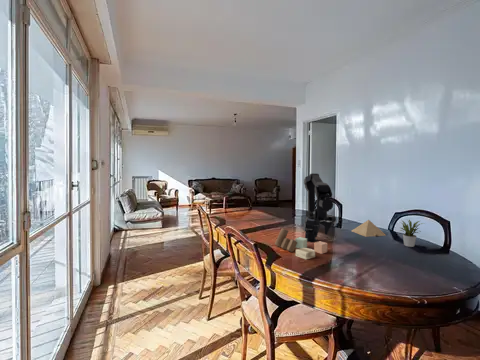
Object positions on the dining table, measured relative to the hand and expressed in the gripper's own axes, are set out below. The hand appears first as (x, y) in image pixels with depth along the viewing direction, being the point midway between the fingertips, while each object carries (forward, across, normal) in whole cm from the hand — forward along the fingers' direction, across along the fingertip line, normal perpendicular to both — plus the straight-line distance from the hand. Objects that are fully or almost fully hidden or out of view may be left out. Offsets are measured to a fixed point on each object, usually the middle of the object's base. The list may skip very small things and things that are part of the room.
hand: (321, 235), depth 156 cm
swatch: (+9, +4, -6) cm, 11 cm away
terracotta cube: (+9, 0, 0) cm, 9 cm away
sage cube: (+9, +2, -12) cm, 15 cm away
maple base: (+9, +13, 0) cm, 16 cm away
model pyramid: (+10, -62, -6) cm, 63 cm away
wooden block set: (+9, +11, -17) cm, 22 cm away
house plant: (+9, -54, +25) cm, 60 cm away
